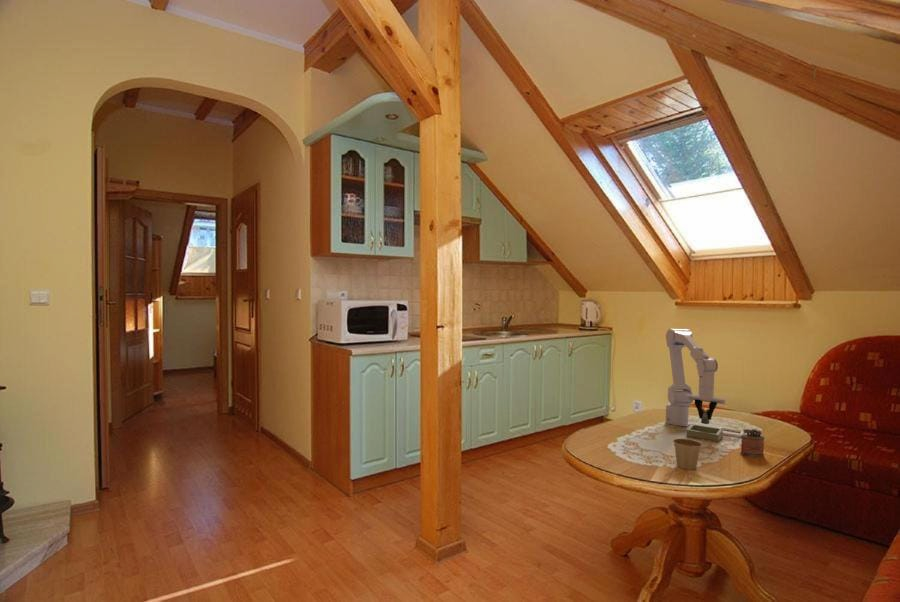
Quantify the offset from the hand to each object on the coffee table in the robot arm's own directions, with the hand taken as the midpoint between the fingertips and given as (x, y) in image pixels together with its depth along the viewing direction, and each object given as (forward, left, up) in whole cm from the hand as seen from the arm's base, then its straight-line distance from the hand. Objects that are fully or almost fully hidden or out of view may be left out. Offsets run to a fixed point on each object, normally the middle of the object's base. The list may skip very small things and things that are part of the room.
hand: (705, 418), depth 217 cm
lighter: (+19, -17, -8) cm, 27 cm away
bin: (0, 0, -8) cm, 8 cm away
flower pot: (+2, -47, -8) cm, 48 cm away
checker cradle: (+8, +13, -8) cm, 17 cm away
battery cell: (0, 0, -2) cm, 2 cm away
